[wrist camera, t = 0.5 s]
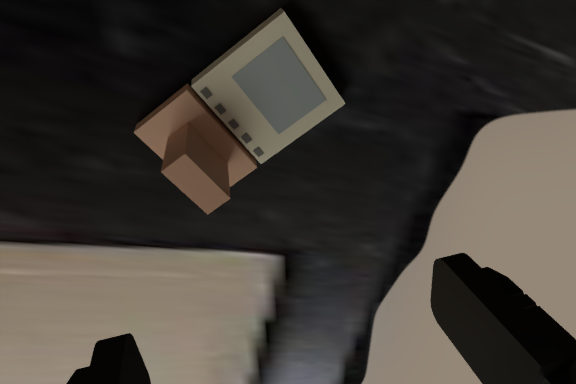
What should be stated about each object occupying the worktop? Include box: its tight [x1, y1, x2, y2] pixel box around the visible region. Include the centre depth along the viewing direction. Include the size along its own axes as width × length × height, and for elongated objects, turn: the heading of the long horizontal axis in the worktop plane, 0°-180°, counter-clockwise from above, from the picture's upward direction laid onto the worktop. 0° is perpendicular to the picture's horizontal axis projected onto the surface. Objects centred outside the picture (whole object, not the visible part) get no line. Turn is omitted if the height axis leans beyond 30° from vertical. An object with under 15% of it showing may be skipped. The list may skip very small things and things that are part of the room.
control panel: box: [191, 8, 345, 164], centre depth 30 cm, size 8×8×2 cm
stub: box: [134, 83, 257, 214], centre depth 29 cm, size 5×8×6 cm, turn 35°
